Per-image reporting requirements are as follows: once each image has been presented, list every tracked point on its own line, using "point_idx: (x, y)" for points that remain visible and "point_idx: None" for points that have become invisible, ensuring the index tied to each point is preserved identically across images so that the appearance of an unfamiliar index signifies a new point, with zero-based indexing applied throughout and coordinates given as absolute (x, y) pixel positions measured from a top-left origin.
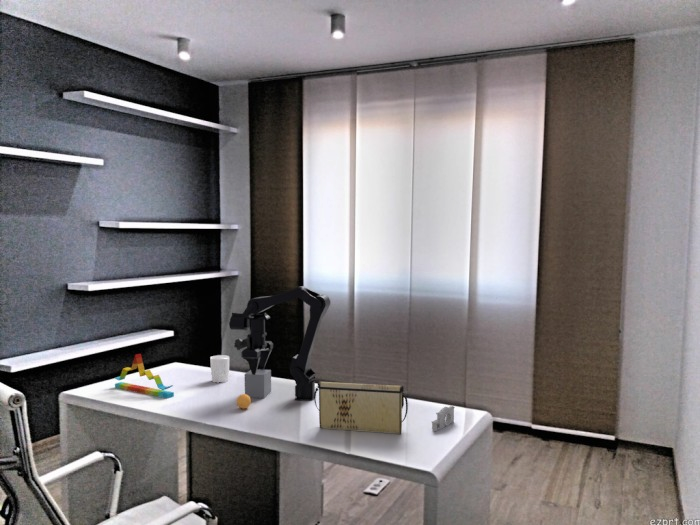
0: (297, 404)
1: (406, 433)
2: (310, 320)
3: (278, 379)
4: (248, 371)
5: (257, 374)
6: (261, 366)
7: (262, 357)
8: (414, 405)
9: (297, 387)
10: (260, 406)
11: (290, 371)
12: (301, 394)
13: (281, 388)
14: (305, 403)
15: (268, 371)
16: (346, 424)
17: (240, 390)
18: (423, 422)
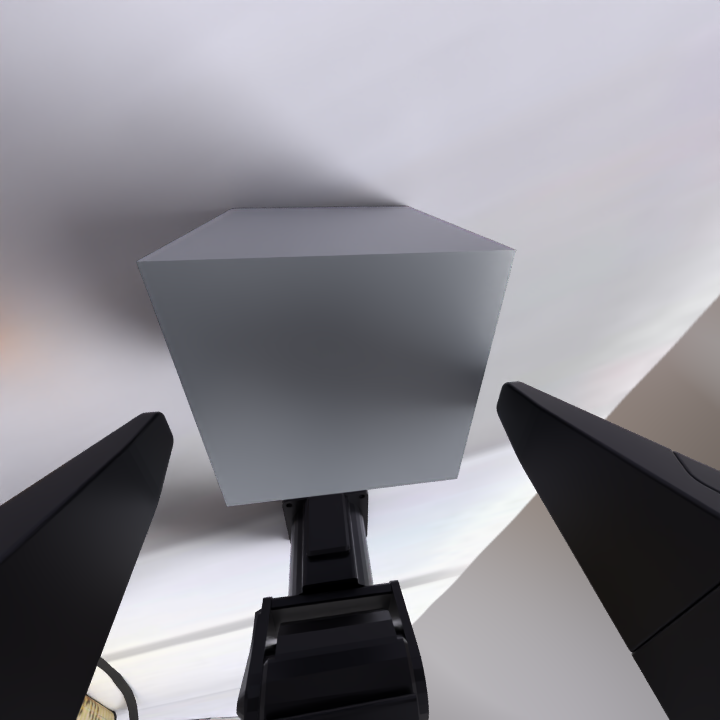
0: (222, 521)
1: (120, 713)
2: None
3: (716, 279)
4: (340, 258)
5: (208, 449)
6: (519, 409)
7: (655, 555)
8: None
9: (302, 556)
10: (85, 405)
11: (262, 683)
12: (291, 538)
13: (489, 372)
14: (250, 536)
15: (385, 485)
16: None
17: (439, 50)
18: (211, 705)
